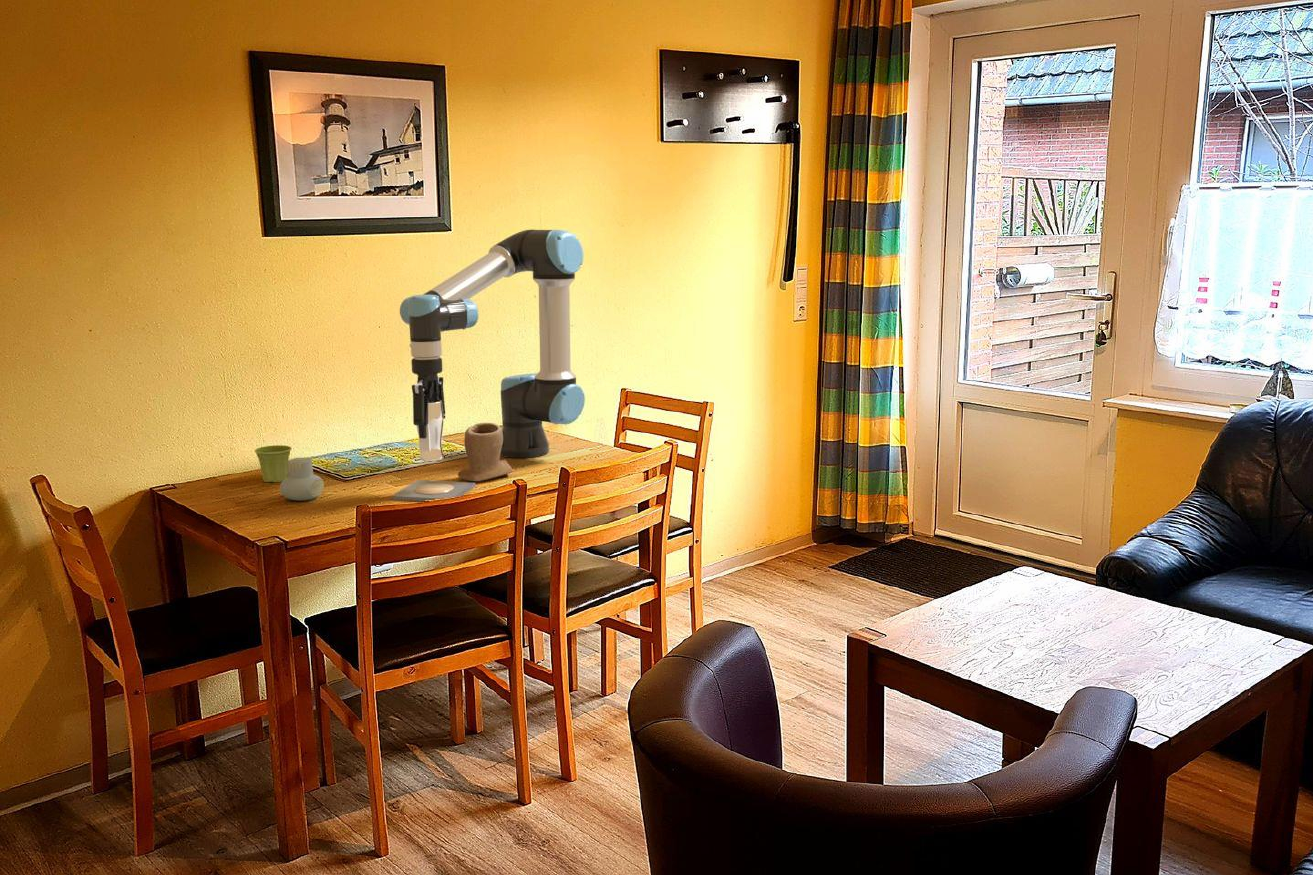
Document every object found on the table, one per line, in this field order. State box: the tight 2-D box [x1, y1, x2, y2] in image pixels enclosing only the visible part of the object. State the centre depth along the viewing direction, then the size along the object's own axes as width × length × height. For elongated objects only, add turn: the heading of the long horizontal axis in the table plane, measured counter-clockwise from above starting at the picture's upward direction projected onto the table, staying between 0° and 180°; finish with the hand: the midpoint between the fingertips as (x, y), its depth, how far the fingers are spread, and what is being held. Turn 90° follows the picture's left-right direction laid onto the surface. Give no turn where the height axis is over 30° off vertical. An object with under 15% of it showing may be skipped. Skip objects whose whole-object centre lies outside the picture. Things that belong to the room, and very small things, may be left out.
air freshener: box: [279, 457, 325, 502], centre depth 285 cm, size 11×8×10 cm
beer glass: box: [415, 399, 445, 462], centre depth 286 cm, size 7×7×15 cm
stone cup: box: [457, 422, 514, 482], centre depth 302 cm, size 15×12×15 cm
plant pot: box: [254, 444, 293, 483], centre depth 303 cm, size 9×9×9 cm
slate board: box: [390, 479, 476, 502], centre depth 289 cm, size 16×16×1 cm
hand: (431, 447), depth 287 cm, fingers closed on beer glass, 6 cm apart
